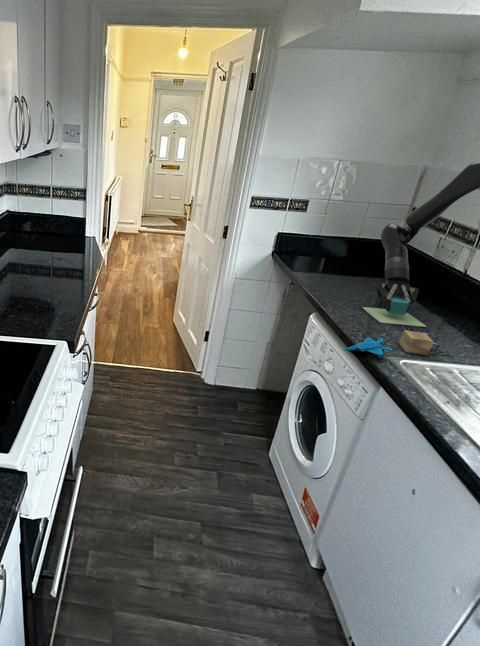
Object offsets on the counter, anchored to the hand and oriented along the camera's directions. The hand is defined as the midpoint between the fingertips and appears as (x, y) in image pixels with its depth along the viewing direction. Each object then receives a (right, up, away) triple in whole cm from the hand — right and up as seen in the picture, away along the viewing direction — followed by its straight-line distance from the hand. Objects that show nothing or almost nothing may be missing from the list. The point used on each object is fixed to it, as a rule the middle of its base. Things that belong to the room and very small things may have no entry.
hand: (397, 311), depth 153 cm
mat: (0, -2, +3) cm, 4 cm away
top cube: (0, 0, +2) cm, 2 cm away
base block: (-10, -12, -20) cm, 25 cm away
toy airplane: (-27, -13, -24) cm, 38 cm away
